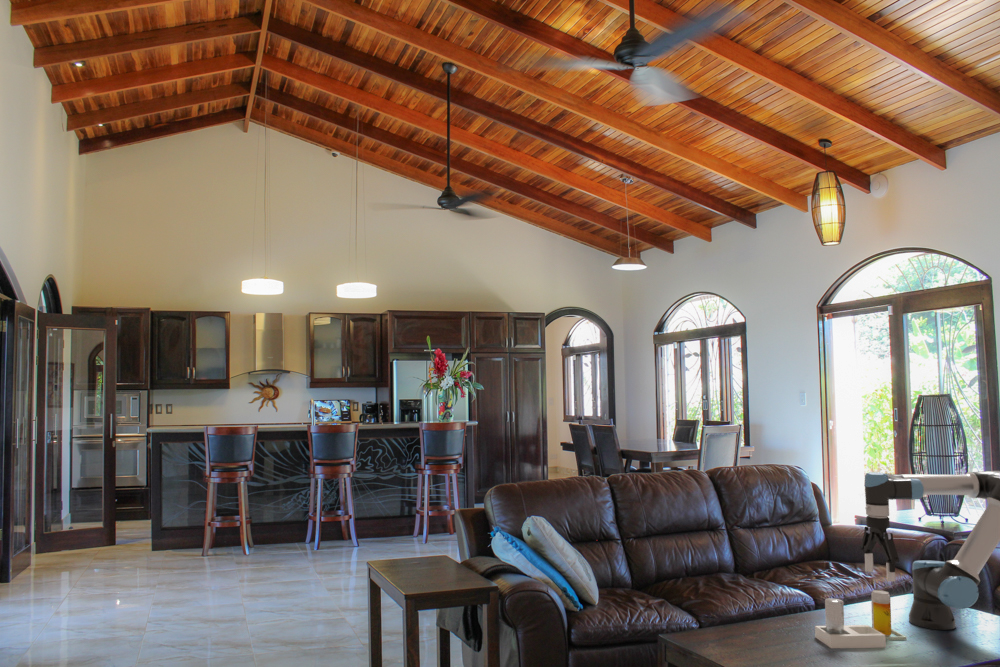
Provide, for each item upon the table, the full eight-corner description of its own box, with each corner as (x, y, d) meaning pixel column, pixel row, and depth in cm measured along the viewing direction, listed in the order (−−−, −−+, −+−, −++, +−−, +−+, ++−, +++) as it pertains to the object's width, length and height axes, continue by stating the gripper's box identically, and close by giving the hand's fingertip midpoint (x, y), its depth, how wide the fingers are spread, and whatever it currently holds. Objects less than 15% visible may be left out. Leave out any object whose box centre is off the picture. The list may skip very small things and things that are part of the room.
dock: (867, 638, 265) (867, 624, 265) (885, 648, 254) (885, 635, 254) (815, 639, 263) (815, 625, 264) (831, 650, 252) (831, 636, 253)
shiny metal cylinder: (839, 639, 261) (837, 598, 262) (847, 645, 255) (846, 603, 256) (822, 639, 261) (821, 598, 262) (831, 645, 255) (830, 603, 256)
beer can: (893, 638, 264) (892, 594, 265) (875, 637, 266) (873, 593, 267) (888, 632, 270) (887, 590, 271) (870, 631, 272) (869, 589, 273)
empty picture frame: (887, 629, 274) (887, 626, 274) (906, 639, 263) (906, 636, 263) (858, 630, 273) (858, 627, 273) (875, 640, 262) (875, 637, 262)
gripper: (849, 510, 283) (851, 568, 282) (887, 522, 258) (890, 585, 257) (868, 510, 284) (870, 567, 282) (908, 522, 259) (911, 585, 257)
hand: (880, 576), depth 269 cm, fingers open, 13 cm apart
